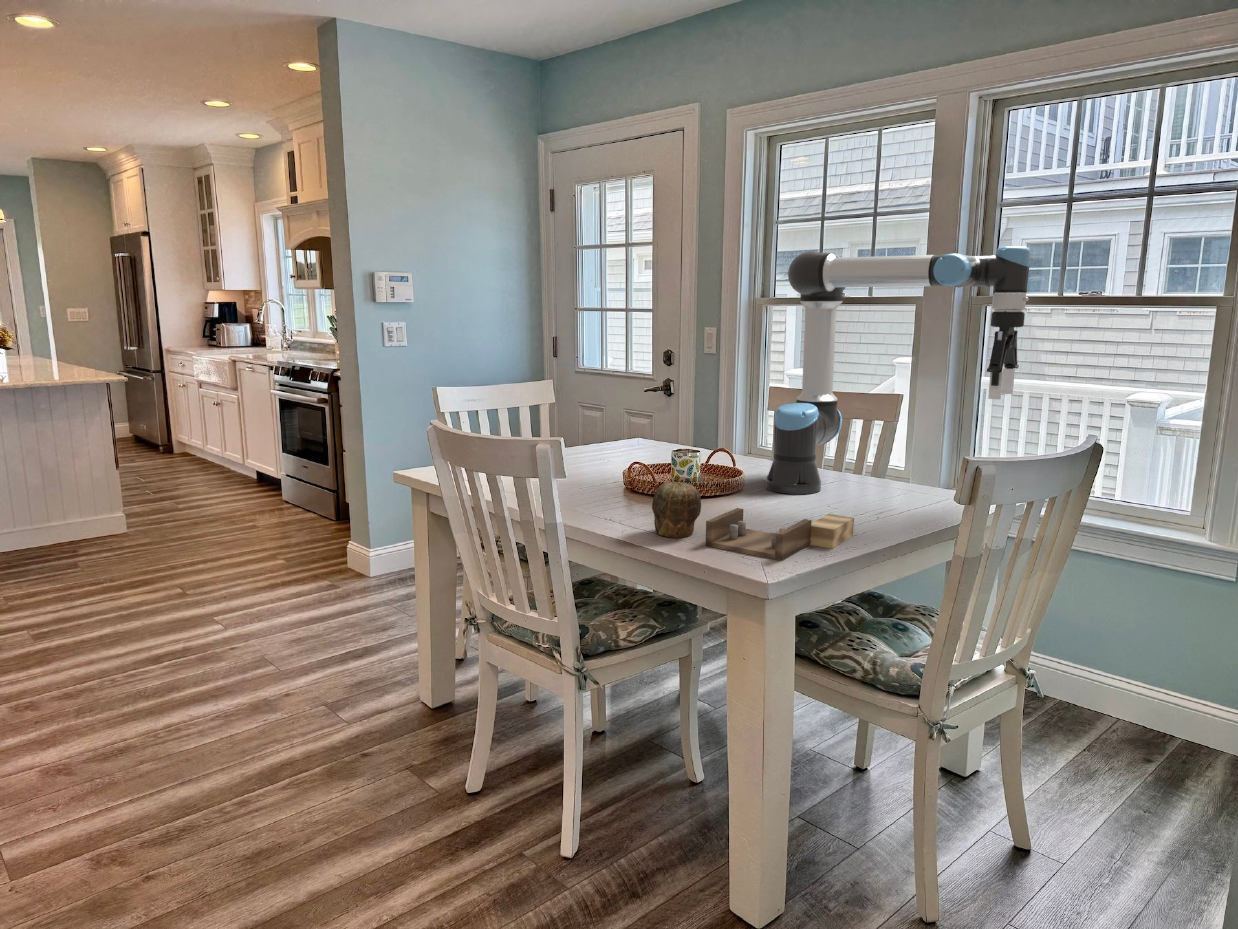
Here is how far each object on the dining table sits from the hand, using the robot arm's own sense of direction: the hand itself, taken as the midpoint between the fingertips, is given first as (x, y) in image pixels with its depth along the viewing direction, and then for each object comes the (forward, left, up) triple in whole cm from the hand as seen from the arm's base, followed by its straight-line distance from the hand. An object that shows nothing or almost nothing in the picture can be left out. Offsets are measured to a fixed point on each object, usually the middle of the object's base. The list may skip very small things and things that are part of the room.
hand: (1000, 396), depth 210 cm
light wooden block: (-21, -55, -28) cm, 66 cm away
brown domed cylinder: (-51, -71, -28) cm, 92 cm away
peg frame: (-32, -68, -28) cm, 80 cm away
